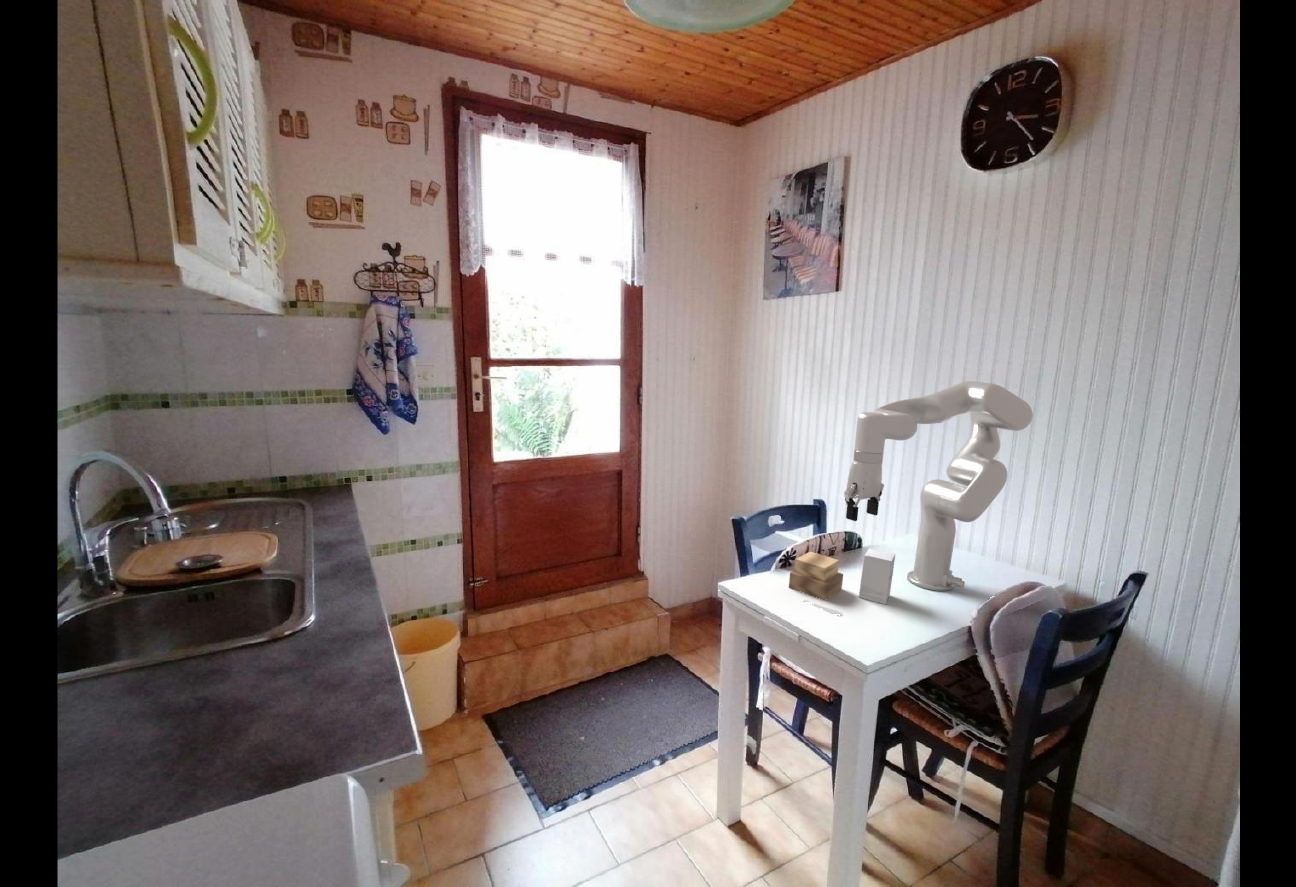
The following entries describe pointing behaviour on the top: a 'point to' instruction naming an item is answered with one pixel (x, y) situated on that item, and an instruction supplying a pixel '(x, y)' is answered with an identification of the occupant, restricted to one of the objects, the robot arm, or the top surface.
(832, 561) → the tower top
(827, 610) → the butter knife
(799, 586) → the tower base
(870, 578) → the supplement box
